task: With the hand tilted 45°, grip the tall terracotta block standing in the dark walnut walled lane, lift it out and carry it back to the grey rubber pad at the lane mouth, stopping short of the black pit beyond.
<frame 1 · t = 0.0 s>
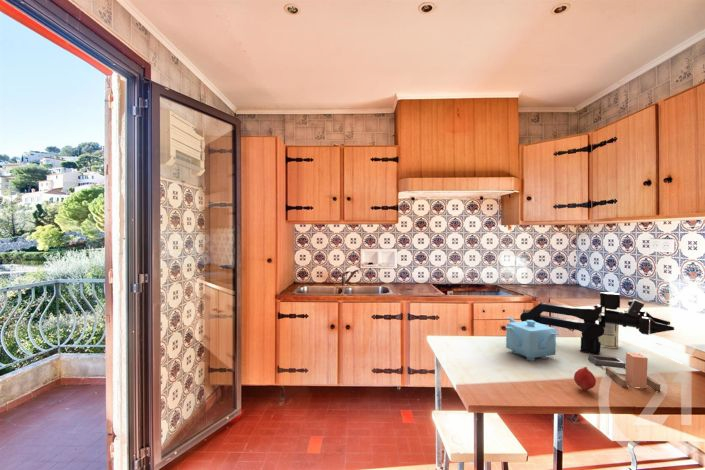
hand: (672, 325, 123), 17 cm above the table, tool horizontal, fingers open, 9 cm apart
block: (635, 385, 108), on the table
pit: (606, 363, 126), on the table
pad: (616, 371, 119), on the table
blue lidded box: (528, 356, 133), on the table
onion: (584, 391, 104), on the table
coffee can: (604, 344, 148), on the table
channel: (631, 382, 110), on the table
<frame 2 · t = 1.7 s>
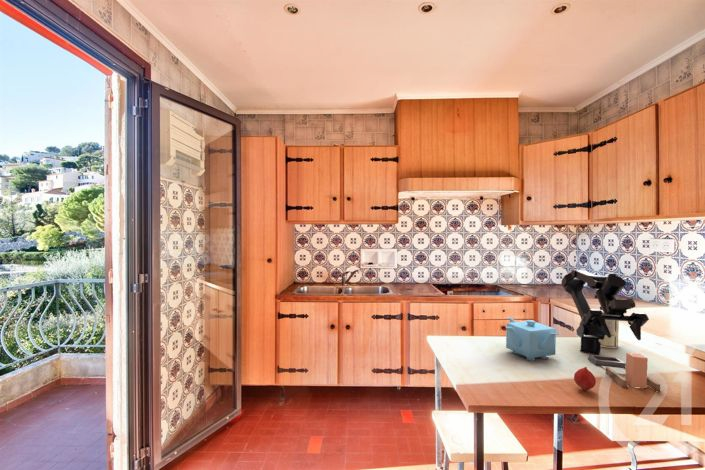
hand: (624, 338, 115), 14 cm above the table, tool tilted 45°, fingers open, 9 cm apart
nothing on the table moved.
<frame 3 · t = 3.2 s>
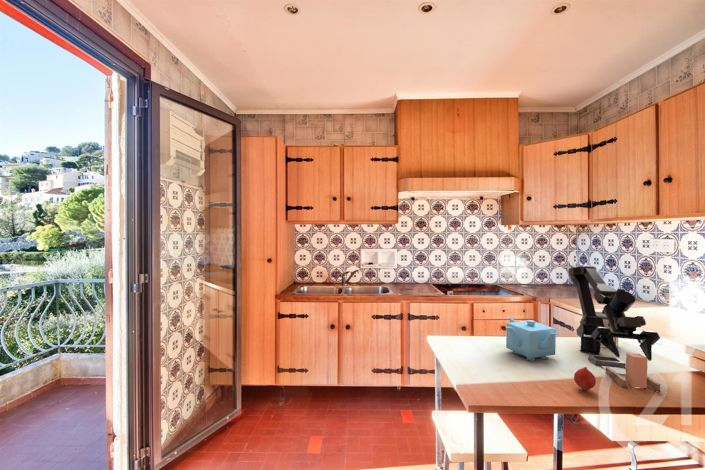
hand: (634, 358, 109), 9 cm above the table, tool tilted 45°, fingers open, 9 cm apart
nothing on the table moved.
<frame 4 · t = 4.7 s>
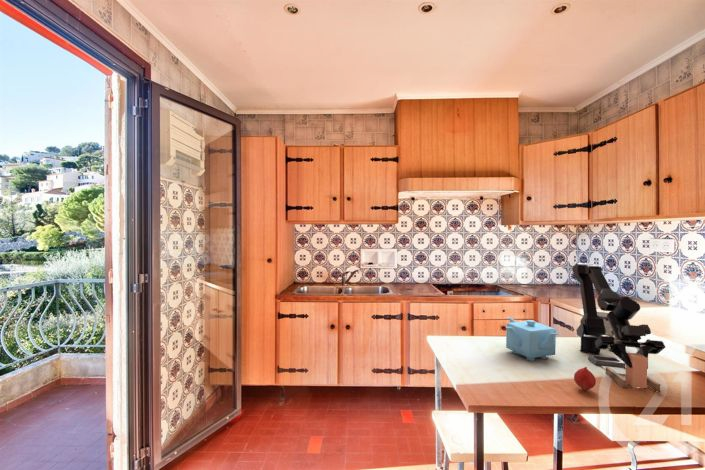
hand: (638, 368, 106), 7 cm above the table, tool tilted 45°, fingers closed on block, 4 cm apart
block: (635, 385, 108), on the table, touching gripper
everything else where it was.
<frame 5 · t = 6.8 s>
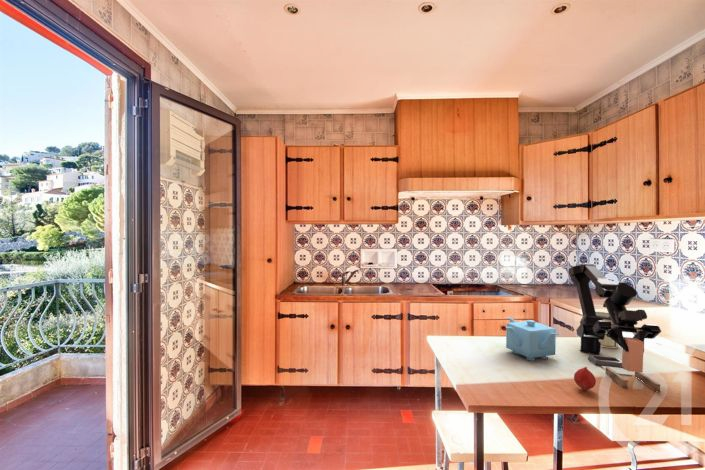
hand: (635, 352, 108), 11 cm above the table, tool tilted 45°, fingers closed on block, 4 cm apart
block: (631, 369, 110), point 5 cm above the table, touching gripper
everything else where it was.
when the fingers open (8 cm above the table, at t = 9.3 s): block drops 1 cm, resting on pad.
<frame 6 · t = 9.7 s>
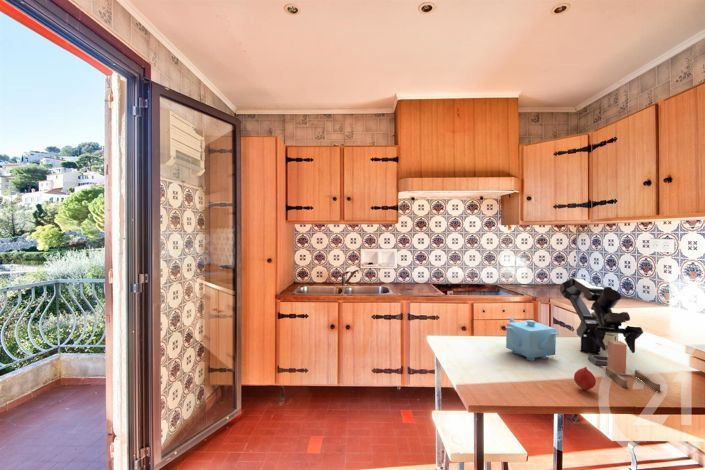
hand: (619, 351, 117), 8 cm above the table, tool tilted 45°, fingers open, 9 cm apart
block: (616, 370, 119), resting on pad
everything else where it was.
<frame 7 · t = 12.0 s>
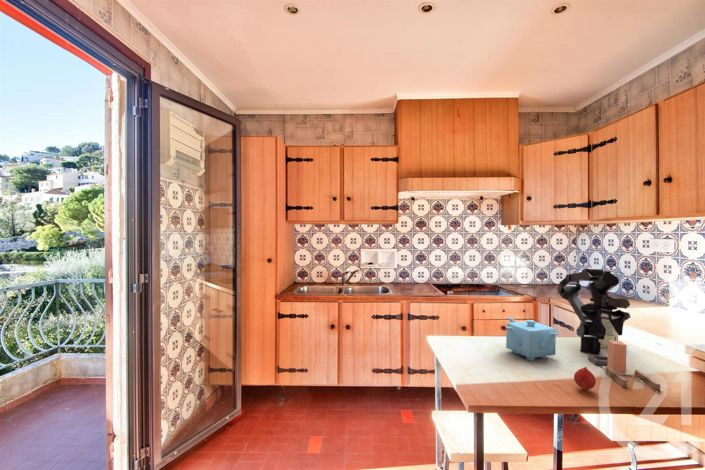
hand: (611, 333, 124), 13 cm above the table, tool tilted 35°, fingers open, 9 cm apart
nothing on the table moved.
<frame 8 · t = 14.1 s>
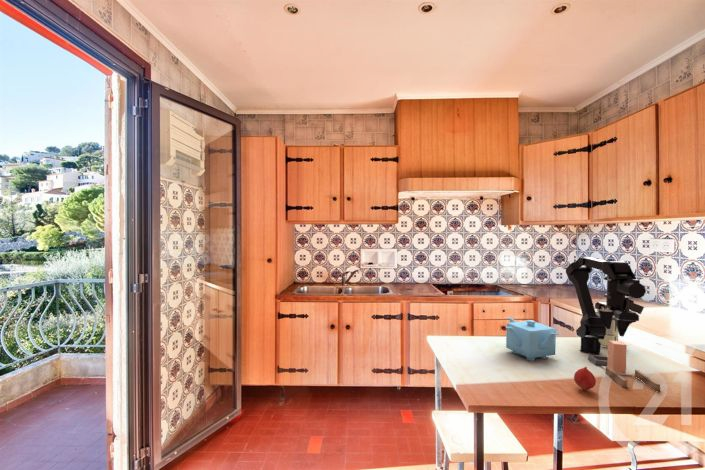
hand: (614, 332, 124), 13 cm above the table, tool pointing down, fingers open, 9 cm apart
nothing on the table moved.
at the end: block 0.0 cm off-centre on the pad, point 0.4 cm above the pad's base; block tilted 0°; block touching pad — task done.
